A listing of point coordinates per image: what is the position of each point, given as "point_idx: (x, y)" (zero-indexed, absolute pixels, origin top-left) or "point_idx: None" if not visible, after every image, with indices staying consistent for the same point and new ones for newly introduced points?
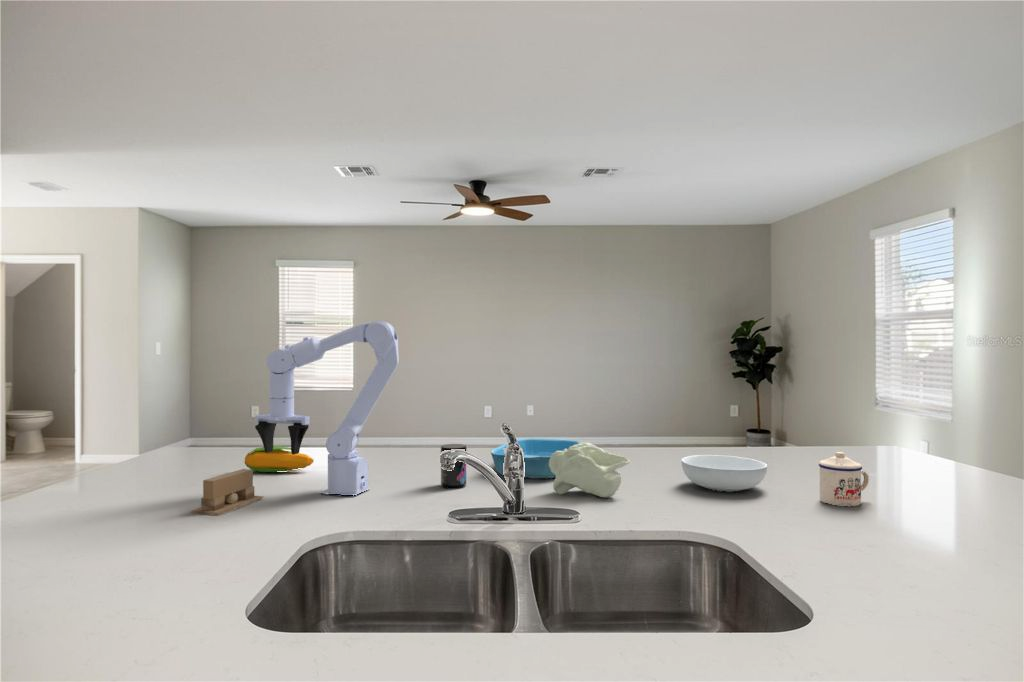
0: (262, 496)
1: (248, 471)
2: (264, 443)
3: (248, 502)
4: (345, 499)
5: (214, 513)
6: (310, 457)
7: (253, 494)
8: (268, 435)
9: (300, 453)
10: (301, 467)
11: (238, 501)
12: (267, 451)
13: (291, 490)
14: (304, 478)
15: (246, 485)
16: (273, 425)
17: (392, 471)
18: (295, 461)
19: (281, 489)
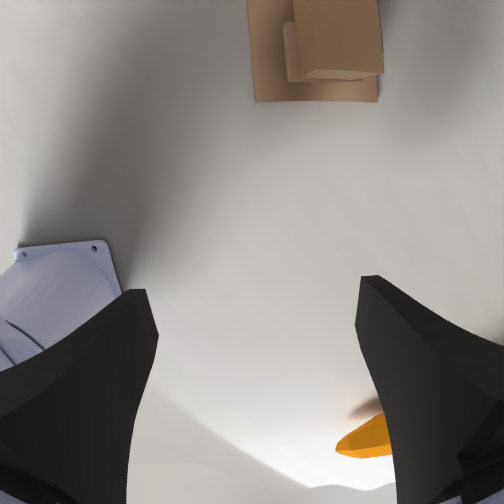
0: (257, 100)
1: (310, 31)
2: (403, 304)
3: (248, 16)
4: (15, 220)
5: None
6: (347, 455)
7: (286, 76)
8: (409, 389)
9: (377, 456)
10: (363, 424)
11: (289, 5)
12: (363, 282)
13: (247, 254)
14: (317, 382)
15: (298, 33)
16: (408, 496)
17: (160, 456)
18: (378, 429)
19: (295, 254)
